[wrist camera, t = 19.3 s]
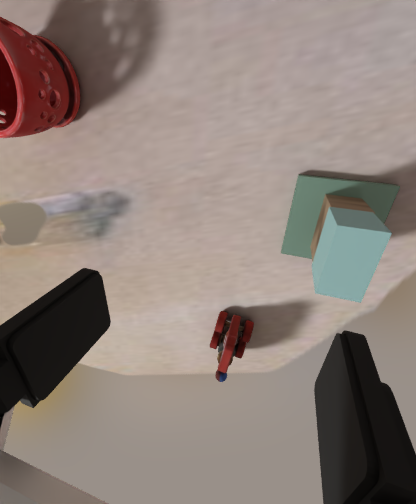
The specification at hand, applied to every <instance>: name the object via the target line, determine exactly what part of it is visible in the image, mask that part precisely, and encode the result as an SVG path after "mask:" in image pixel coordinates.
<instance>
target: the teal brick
mask: <svg viewBox="0 0 416 504" xmlns="http://www.w3.org/2000/svg"><path fill="white" fill-rule="evenodd" d="M391 234H392V233H391V231H390V230H389V229H388V228H387V227H386V226H385V225H384V224H383V223H382V222H381V220H380V219H379V218H378V217H377V216H376V215H375V214H374V213H373V212H367V211H359V210H352V209H344V208H336V207H329V209H328V212H327V216H326V219H325V222H324V226H323V229H322V232H321V236H320V239H319V243H318V246H317V249H316V253H315V256H314V260H313V263H312V273H313V280H314V288H315V293H317V294H322V295H326V296H331V297H336V298H341V299H346V300H350V301H355V302H360V303H361V301H362V299H363V296H364V294H365V292H366V290H367V287H368V285H369V283H370V281H371V278H372V276H373V274H374V272H375V270H376V267H377V265H378V263H379V261H380V258H381V256H382V254H383V252H384V250H385V247H386V245H387V243H388V241H389V238H390V236H391Z"/></svg>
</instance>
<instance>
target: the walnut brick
mask: <svg viewBox="0 0 416 504" xmlns="http://www.w3.org/2000/svg"><path fill="white" fill-rule="evenodd" d="M329 207H336V208H344V209H352V210H359V211H367V212H373V213H374V214H375V212H374V211H373V210H372V209H371V208H370V207H369V206H368V204H367V203H366V202H365V201H364V200H363V199H362V198H354V197H345V196H337V195H328V194H325V197H324V200H323V204H322V207H321V211H320V214H319V218H318V221H317V225H316V228H315V232H314V235H313V239H312V242H311V246H310V248H311V255H312V262H313V260H314V256H315V253H316V249H317V246H318V243H319V239H320V236H321V232H322V229H323V226H324V222H325V219H326V216H327V212H328V209H329Z"/></svg>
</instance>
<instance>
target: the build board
mask: <svg viewBox="0 0 416 504" xmlns="http://www.w3.org/2000/svg"><path fill="white" fill-rule="evenodd" d="M399 188H400V186H398V185H395V184H385V183H376V182H367V181H357V180H348V179H339V178H329V177H320V176H310V175H301V174H299V175H298V179H297V183H296V188H295V192H294V197H293V201H292V206H291V210H290V214H289V219H288V223H287V228H286V232H285V237H284V241H283V245H282V250H281V253H282V254H288V255H293V256H299V257H304V258H310V259H312V255H311V248H310V246H311V242H312V239H313V235H314V232H315V228H316V225H317V221H318V218H319V214H320V211H321V207H322V204H323V200H324V197H325V194H328V195H337V196H345V197H354V198H362V199H363V200H364V201H365V202H366V203H367V204H368V206H369V207H370V208H371V209H372V210H373V211H374V212H375V215H376V216H377V217H378V218H379V219H380V220H381V222H382V223H383V224H384V223H385V221H386V218H387V216H388V214H389V211H390V209H391V207H392V204H393V202H394V200H395V197H396V195H397V193H398V191H399Z"/></svg>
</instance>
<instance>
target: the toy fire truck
mask: <svg viewBox="0 0 416 504" xmlns="http://www.w3.org/2000/svg"><path fill="white" fill-rule="evenodd" d="M227 316H228V313H226V312H224V311H221V312H220V314H219V317H218V320H217V323H216V327H215V331H214V334H213V337H212V340H211V343H210V347H211V348H213V349H216V348H217V346H219V348H218V352H219V354H218V357H217V360H218V363H219V366H218V370H217V371H216V379H217V380H218V381H220V382H223V381H225V379H226V378H227V373H226V372H227V369H228V366H229V365H231V363H232V361H233V357H234V356H235V357H237V358H242V356H243V353H244V350H245V346H246V342H247V343H248V342H249V340H250V338H251V334H252V330H253V326H254V323H253V322H252V321H249V320H247V321H246V322H245V325H244V327H242V326H240V320H241V316H238V315H233V317H232V320H231V322H228V321H226V319H227ZM224 326H227V327H229V330H228V331H227V333H226V335H223V334H222V331H223V329H224ZM238 331H241V332H242V336H241V337H240V338H239V340H238V343H236V342H237V338H238Z"/></svg>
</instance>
